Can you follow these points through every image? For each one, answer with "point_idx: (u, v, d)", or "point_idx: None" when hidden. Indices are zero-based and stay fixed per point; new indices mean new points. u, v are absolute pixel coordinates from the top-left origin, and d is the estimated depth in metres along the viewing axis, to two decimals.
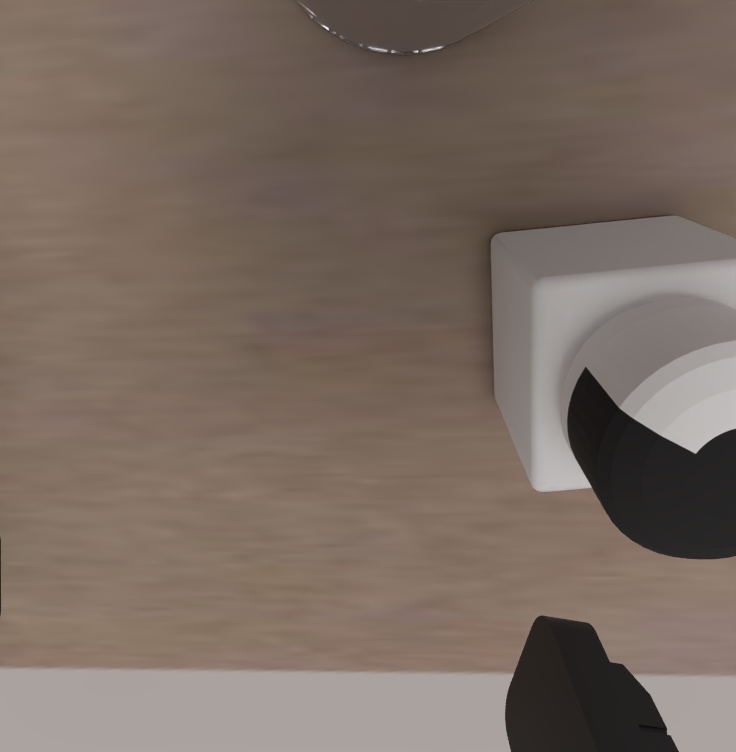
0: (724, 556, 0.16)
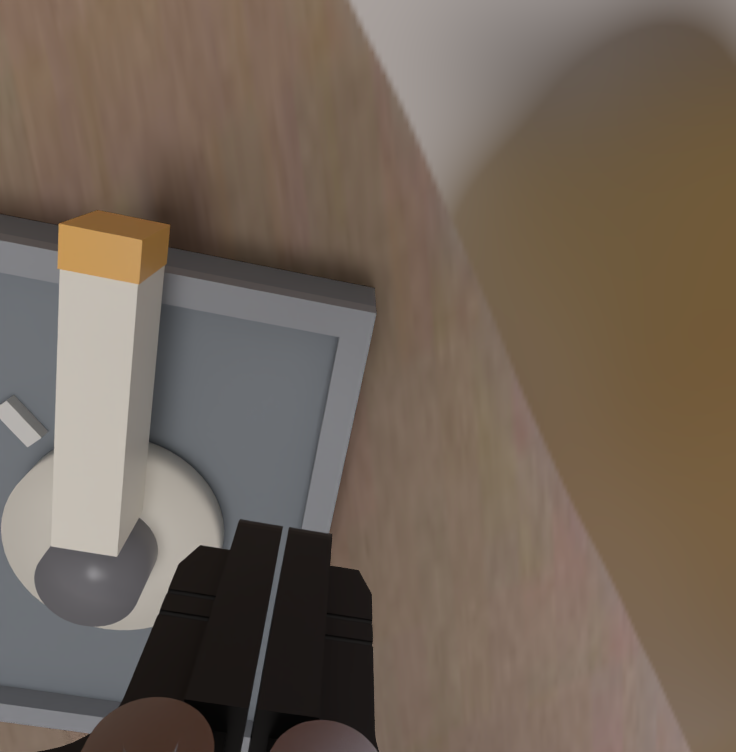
0: None
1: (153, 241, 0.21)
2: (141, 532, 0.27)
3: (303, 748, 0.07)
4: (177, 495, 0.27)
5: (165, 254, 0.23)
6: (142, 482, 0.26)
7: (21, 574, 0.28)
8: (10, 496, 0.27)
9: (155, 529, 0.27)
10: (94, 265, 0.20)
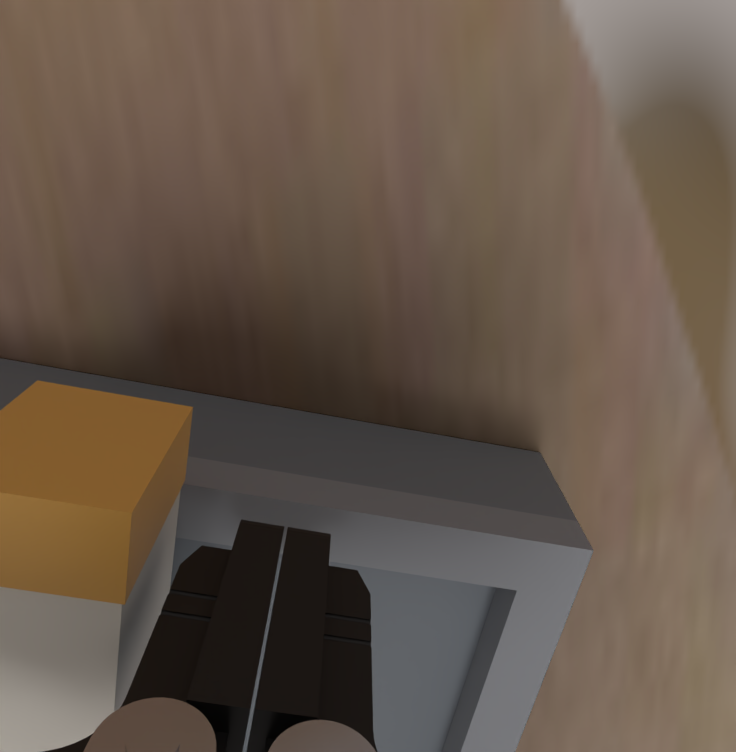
0: None
1: (158, 479, 0.09)
2: None
3: (301, 748, 0.07)
4: None
5: (183, 468, 0.11)
6: None
7: None
8: None
9: None
10: (13, 567, 0.08)
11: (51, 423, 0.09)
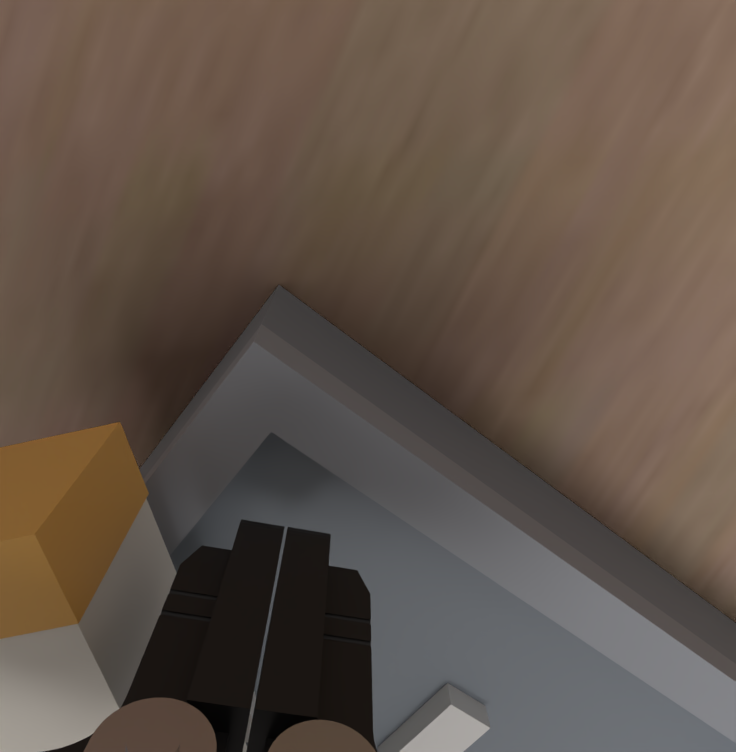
0: None
1: (81, 497, 0.09)
2: None
3: (301, 748, 0.07)
4: None
5: (135, 482, 0.11)
6: None
7: None
8: None
9: None
10: None
11: None
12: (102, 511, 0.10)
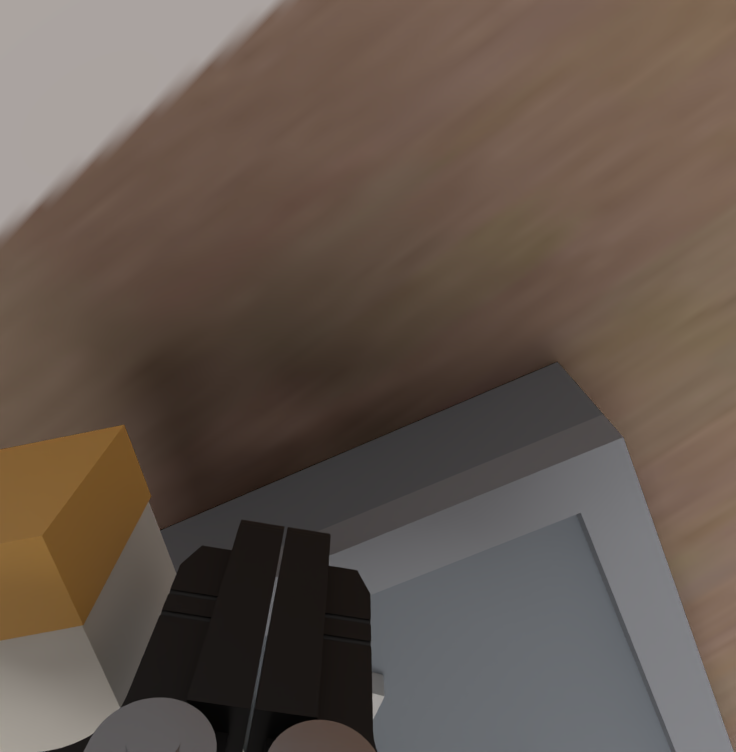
0: None
1: (86, 499, 0.09)
2: None
3: (302, 748, 0.07)
4: None
5: (138, 485, 0.11)
6: None
7: None
8: None
9: None
10: None
11: None
12: (106, 513, 0.10)
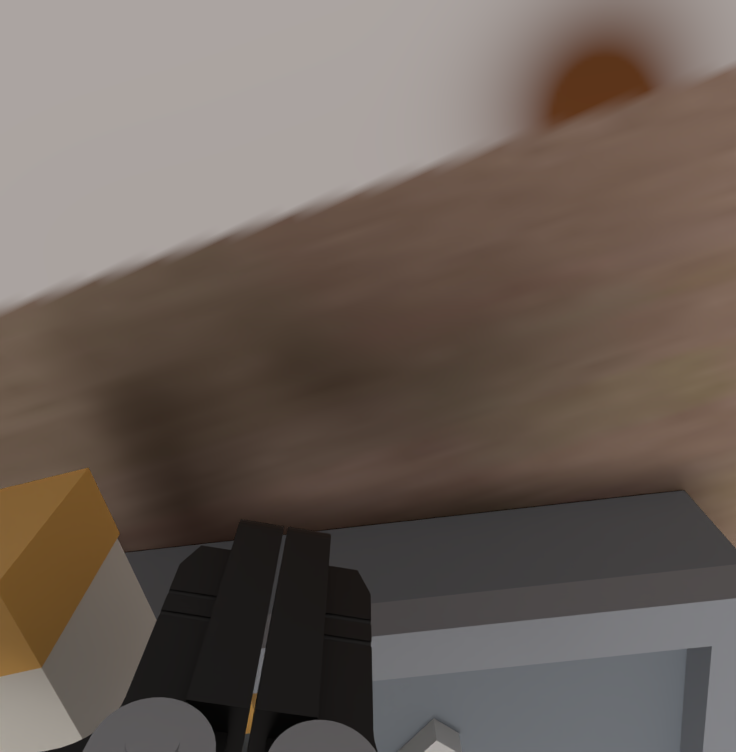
0: None
1: (45, 546, 0.10)
2: None
3: (302, 749, 0.07)
4: None
5: (105, 524, 0.11)
6: None
7: None
8: None
9: None
10: None
11: None
12: (68, 556, 0.10)
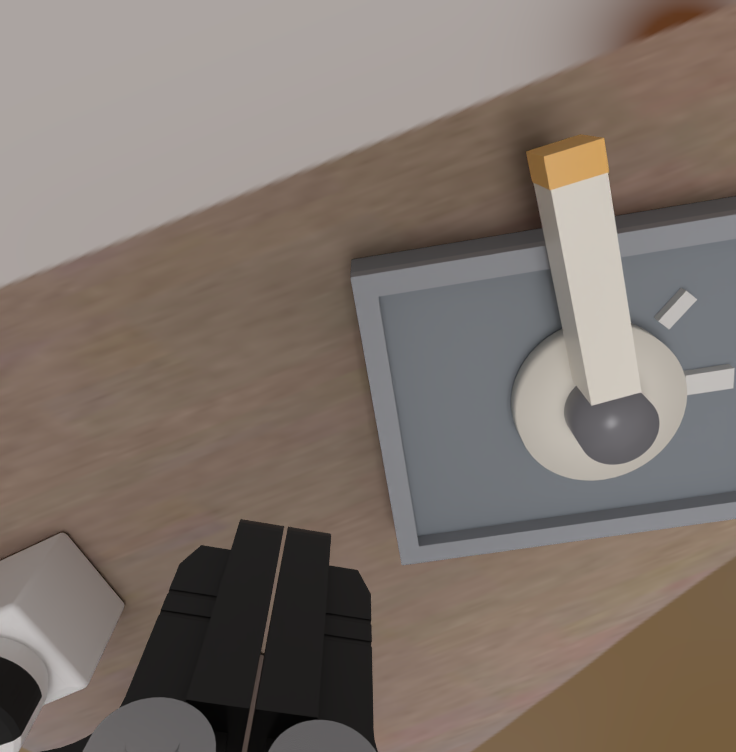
0: None
1: None
2: None
3: (302, 748, 0.07)
4: (641, 343, 0.33)
5: None
6: None
7: (542, 459, 0.36)
8: (519, 401, 0.34)
9: None
10: (574, 174, 0.27)
11: (550, 148, 0.28)
12: None
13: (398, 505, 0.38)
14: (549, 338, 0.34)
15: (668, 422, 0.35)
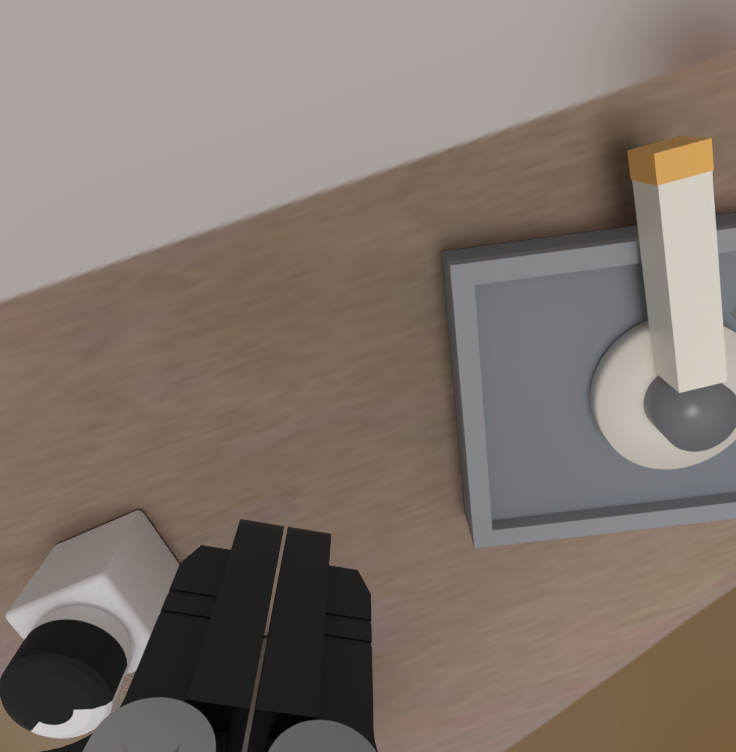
0: (20, 668, 0.34)
1: None
2: None
3: (302, 748, 0.07)
4: None
5: None
6: None
7: (619, 447, 0.37)
8: (601, 390, 0.36)
9: None
10: (681, 171, 0.29)
11: (654, 147, 0.30)
12: None
13: (476, 489, 0.39)
14: (632, 330, 0.36)
15: None
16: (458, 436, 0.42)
